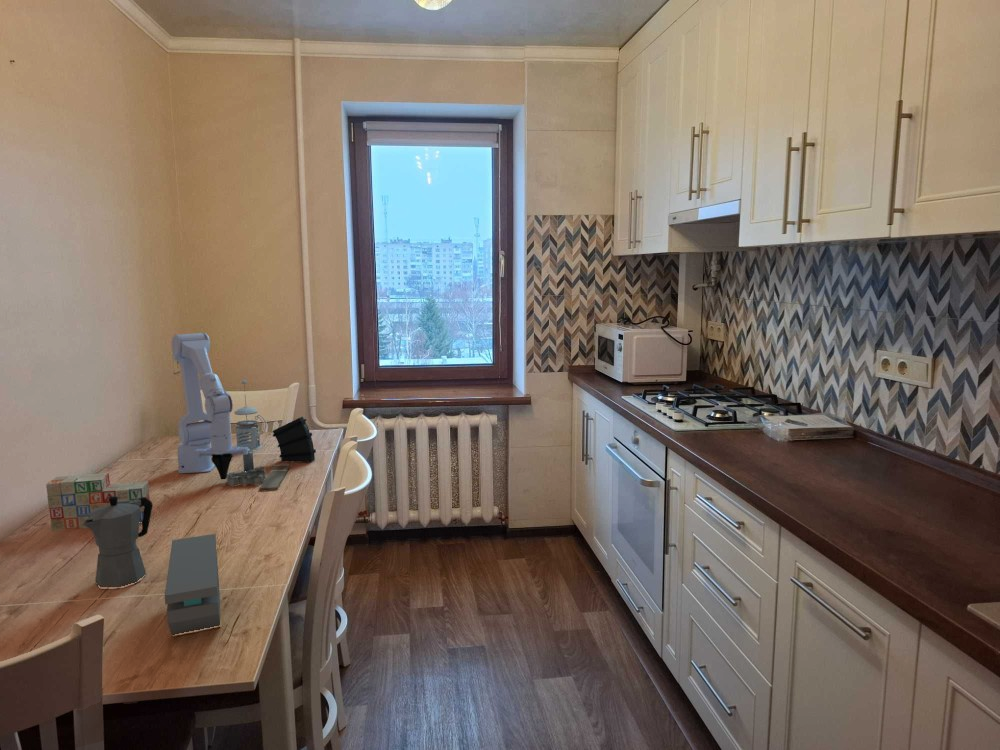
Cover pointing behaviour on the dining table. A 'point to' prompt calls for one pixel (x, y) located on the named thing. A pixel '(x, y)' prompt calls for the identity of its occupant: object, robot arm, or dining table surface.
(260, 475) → the egg carton
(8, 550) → the dining table surface
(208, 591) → the grey slotted box
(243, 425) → the french press
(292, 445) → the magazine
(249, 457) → the awl peg
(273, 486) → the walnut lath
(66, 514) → the stack of blocks
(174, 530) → the dining table surface
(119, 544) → the coffeepot
